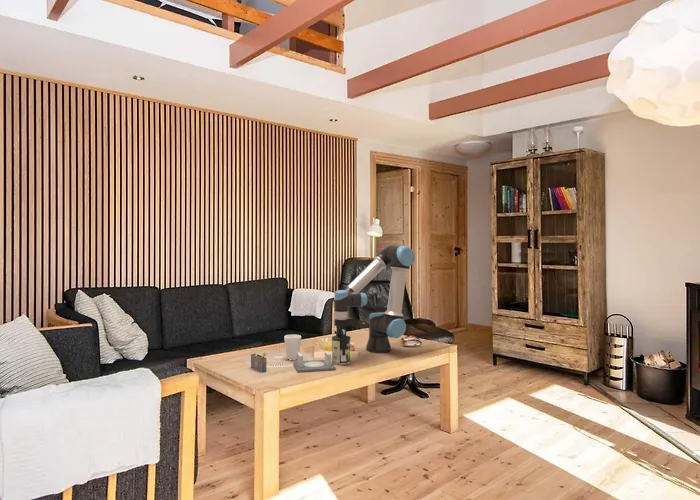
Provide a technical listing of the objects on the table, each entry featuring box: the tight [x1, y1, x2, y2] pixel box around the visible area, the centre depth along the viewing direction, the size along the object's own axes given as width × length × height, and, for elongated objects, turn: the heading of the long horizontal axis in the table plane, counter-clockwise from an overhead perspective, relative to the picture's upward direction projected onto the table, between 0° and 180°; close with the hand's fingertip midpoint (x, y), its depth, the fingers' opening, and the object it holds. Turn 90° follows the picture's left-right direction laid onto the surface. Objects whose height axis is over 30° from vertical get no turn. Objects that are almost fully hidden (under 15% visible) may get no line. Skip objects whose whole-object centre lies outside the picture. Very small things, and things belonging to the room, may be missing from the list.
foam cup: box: [283, 334, 302, 361], centre depth 271 cm, size 10×9×13 cm
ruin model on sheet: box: [250, 352, 267, 373], centre depth 250 cm, size 11×3×10 cm, turn 41°
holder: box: [292, 350, 337, 374], centre depth 256 cm, size 20×17×7 cm
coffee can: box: [331, 335, 351, 366], centre depth 265 cm, size 10×10×14 cm
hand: (341, 358), depth 265 cm, fingers closed on coffee can, 10 cm apart
